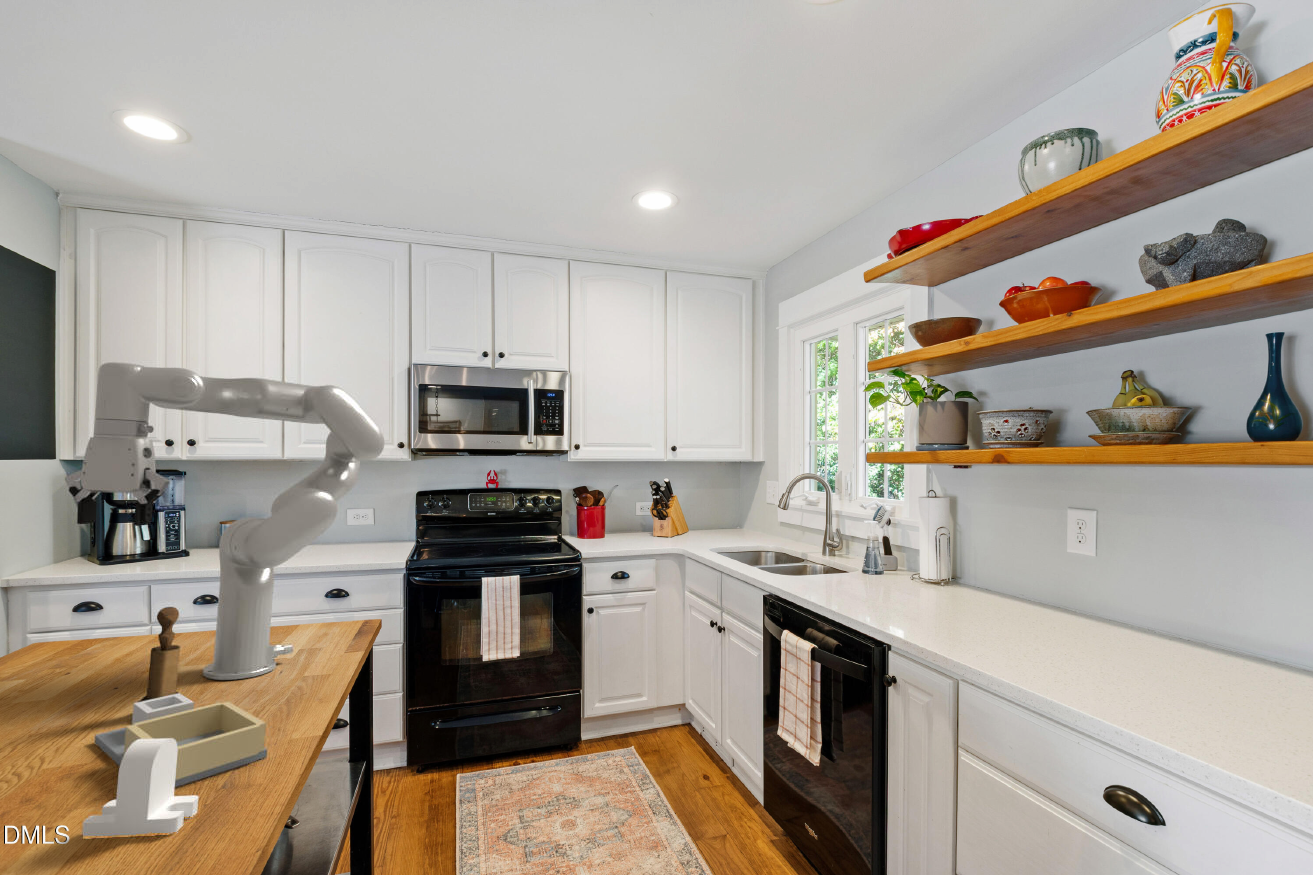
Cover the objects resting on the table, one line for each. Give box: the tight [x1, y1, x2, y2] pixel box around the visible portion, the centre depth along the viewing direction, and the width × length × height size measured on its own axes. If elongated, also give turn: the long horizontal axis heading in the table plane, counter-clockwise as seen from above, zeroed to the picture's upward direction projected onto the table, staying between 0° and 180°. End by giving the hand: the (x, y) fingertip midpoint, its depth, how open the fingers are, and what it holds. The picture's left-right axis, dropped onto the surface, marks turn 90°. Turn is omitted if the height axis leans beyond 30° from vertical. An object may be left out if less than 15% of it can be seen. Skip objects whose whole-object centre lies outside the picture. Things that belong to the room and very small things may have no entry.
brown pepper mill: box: [136, 606, 181, 703], centre depth 108 cm, size 7×6×18 cm
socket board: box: [94, 692, 268, 788], centre depth 94 cm, size 14×24×5 cm, turn 55°
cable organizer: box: [81, 738, 199, 836], centre depth 76 cm, size 5×10×10 cm, turn 100°
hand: (114, 524), depth 114 cm, fingers open, 9 cm apart
